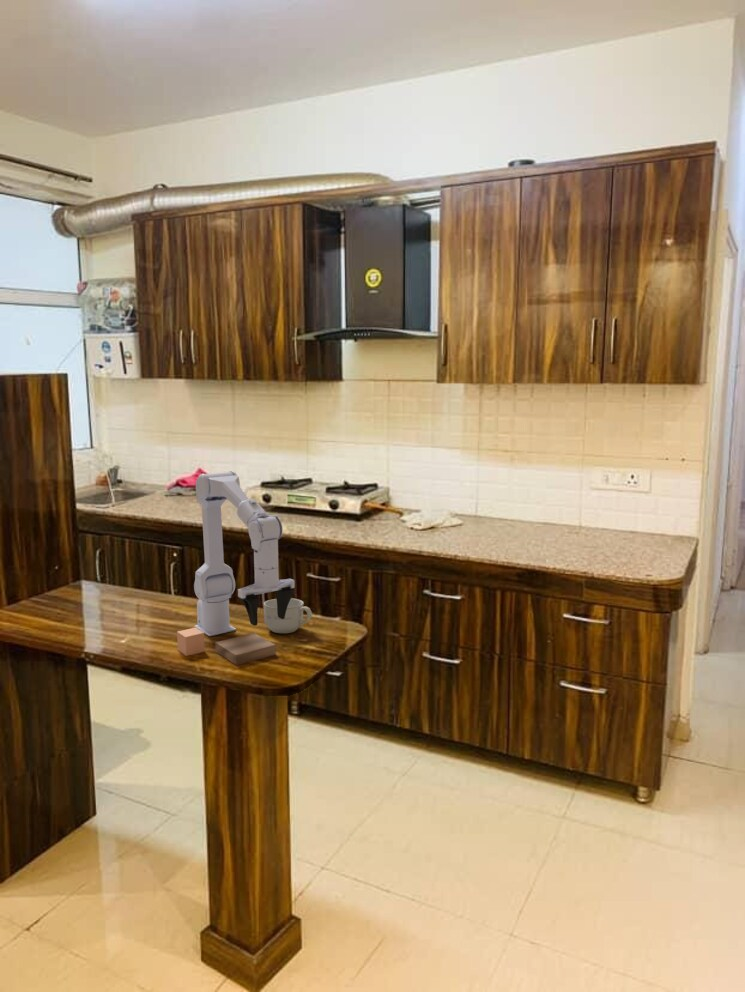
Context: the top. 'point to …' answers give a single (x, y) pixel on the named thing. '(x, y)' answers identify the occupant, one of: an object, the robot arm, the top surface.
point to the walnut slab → (245, 648)
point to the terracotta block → (190, 641)
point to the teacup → (291, 617)
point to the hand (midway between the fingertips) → (267, 621)
